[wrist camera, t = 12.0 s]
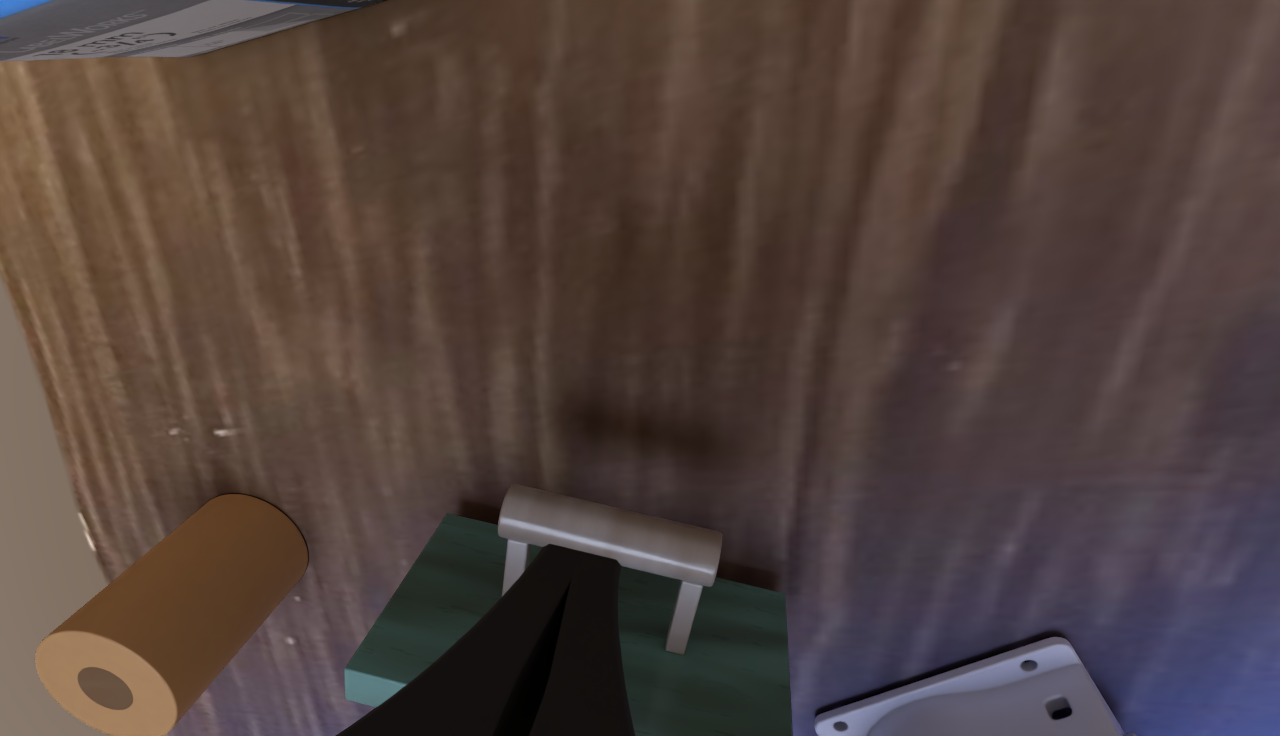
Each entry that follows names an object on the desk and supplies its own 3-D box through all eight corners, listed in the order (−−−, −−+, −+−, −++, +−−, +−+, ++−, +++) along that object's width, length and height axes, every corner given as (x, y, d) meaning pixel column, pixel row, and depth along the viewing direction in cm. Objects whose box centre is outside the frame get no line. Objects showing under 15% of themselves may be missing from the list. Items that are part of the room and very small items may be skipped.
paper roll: (247, 474, 26) (86, 610, 20) (331, 561, 27) (205, 715, 21) (176, 523, 28) (6, 663, 22) (259, 603, 29) (121, 758, 23)
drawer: (453, 407, 22) (340, 541, 16) (821, 490, 22) (846, 665, 16) (432, 761, 30) (350, 942, 24) (703, 832, 29) (688, 1037, 23)
